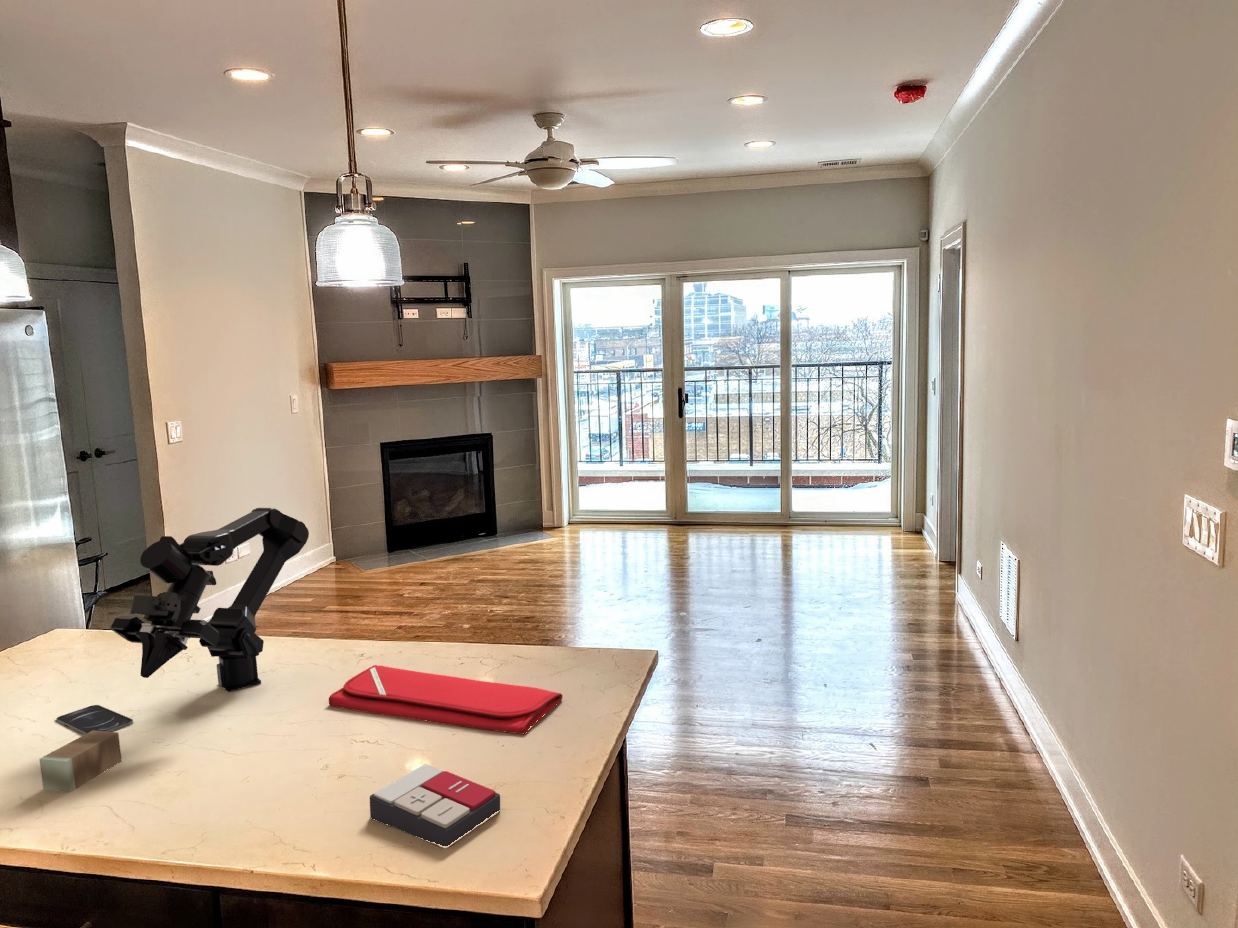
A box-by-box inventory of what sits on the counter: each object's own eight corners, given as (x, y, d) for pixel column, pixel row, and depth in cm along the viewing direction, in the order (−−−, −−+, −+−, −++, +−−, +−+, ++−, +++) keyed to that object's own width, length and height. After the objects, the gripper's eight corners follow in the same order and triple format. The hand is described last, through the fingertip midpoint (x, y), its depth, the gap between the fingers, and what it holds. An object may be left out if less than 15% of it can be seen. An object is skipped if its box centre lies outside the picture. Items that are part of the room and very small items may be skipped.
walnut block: (92, 730, 142) (39, 758, 133) (118, 732, 141) (66, 761, 132) (96, 759, 143) (43, 789, 133) (121, 761, 142) (70, 792, 132)
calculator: (445, 826, 113) (367, 791, 121) (446, 856, 114) (368, 819, 122) (501, 789, 122) (425, 758, 130) (501, 817, 123) (426, 785, 131)
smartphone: (96, 703, 165) (135, 720, 157) (97, 708, 165) (136, 724, 157) (53, 718, 159) (91, 736, 150) (54, 722, 159) (92, 741, 151)
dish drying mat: (524, 739, 146) (523, 718, 146) (326, 710, 161) (325, 690, 160) (563, 702, 161) (562, 683, 160) (379, 678, 175) (377, 660, 175)
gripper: (111, 572, 154) (67, 654, 145) (201, 575, 150) (161, 660, 141) (150, 601, 163) (110, 680, 154) (236, 605, 159) (200, 687, 150)
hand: (143, 676), depth 150 cm, fingers closed
